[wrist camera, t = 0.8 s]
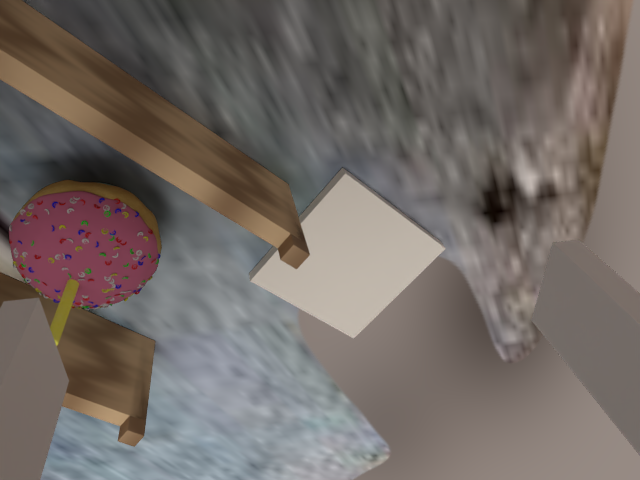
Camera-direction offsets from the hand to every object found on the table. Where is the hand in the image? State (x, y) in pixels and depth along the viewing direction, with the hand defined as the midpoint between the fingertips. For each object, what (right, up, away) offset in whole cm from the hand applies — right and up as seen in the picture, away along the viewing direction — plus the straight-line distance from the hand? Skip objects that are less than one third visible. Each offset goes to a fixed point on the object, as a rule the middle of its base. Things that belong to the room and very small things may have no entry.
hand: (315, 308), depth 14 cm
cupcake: (-15, +4, +22) cm, 27 cm away
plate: (+2, 0, +28) cm, 28 cm away
